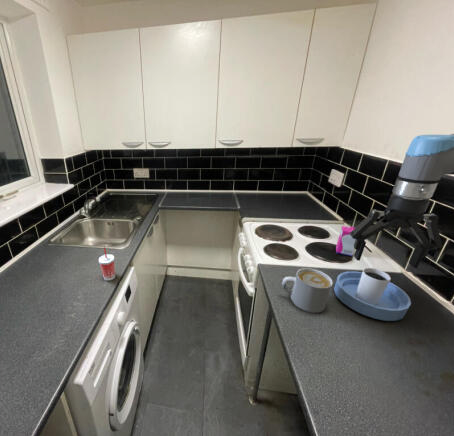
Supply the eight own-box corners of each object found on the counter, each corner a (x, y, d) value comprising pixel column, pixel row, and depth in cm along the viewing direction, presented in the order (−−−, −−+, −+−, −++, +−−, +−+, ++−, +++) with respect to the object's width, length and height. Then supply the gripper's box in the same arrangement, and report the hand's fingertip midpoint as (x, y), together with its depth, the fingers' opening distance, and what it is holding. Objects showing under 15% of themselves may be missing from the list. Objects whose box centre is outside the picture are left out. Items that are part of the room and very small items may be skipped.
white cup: (370, 292, 79) (380, 268, 75) (384, 306, 73) (396, 281, 69) (349, 290, 80) (358, 267, 76) (362, 305, 74) (372, 280, 70)
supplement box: (350, 250, 104) (358, 227, 99) (352, 256, 100) (360, 233, 95) (335, 247, 107) (342, 225, 102) (335, 253, 102) (343, 230, 98)
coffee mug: (325, 297, 79) (333, 274, 75) (324, 317, 71) (332, 292, 67) (282, 284, 86) (287, 261, 82) (277, 300, 78) (282, 277, 74)
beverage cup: (117, 279, 92) (113, 250, 86) (102, 283, 90) (96, 253, 85) (116, 271, 97) (111, 242, 92) (101, 274, 96) (96, 245, 90)
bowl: (387, 288, 81) (392, 277, 79) (418, 329, 66) (425, 317, 64) (327, 278, 88) (331, 267, 86) (342, 314, 72) (346, 301, 70)
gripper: (359, 197, 63) (338, 261, 71) (488, 204, 54) (447, 276, 63) (349, 189, 69) (332, 249, 78) (463, 194, 61) (430, 261, 69)
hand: (383, 261), depth 70 cm, fingers open, 13 cm apart
